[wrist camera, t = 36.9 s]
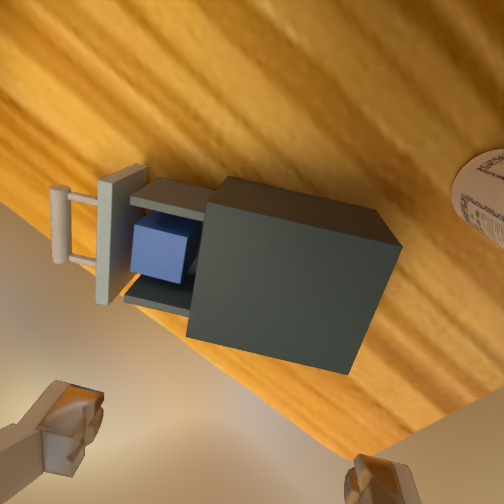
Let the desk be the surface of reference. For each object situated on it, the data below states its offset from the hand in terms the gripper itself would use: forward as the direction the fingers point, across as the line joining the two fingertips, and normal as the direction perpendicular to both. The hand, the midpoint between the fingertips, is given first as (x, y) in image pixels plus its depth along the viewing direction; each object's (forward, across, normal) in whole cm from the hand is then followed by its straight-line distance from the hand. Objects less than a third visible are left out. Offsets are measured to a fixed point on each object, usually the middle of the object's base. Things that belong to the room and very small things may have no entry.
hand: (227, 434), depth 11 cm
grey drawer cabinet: (+26, -3, +5) cm, 26 cm away
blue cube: (+24, +8, +5) cm, 26 cm away
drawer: (+25, +9, +5) cm, 27 cm away
